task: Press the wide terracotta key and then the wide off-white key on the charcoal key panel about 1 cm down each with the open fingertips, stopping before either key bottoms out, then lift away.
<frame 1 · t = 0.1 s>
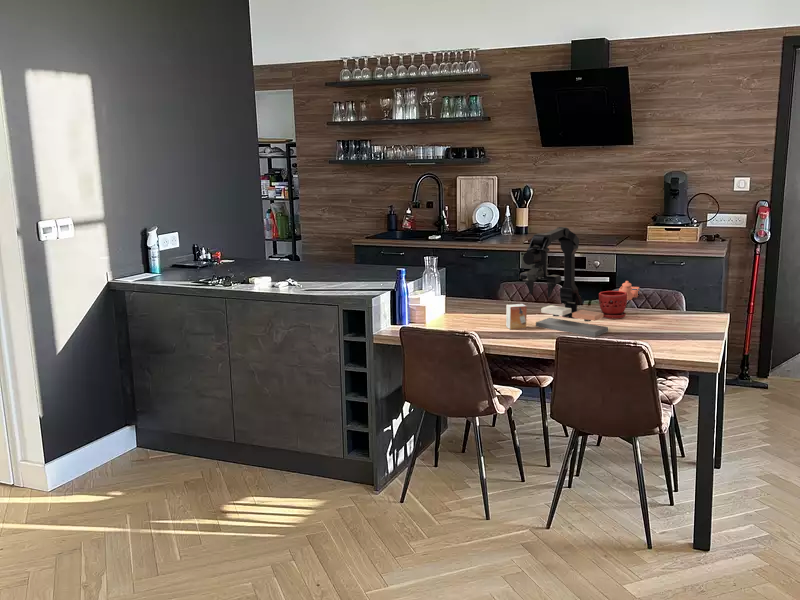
hand: (540, 296, 358), 15 cm above the table, fingers open, 9 cm apart
pottery: (627, 297, 425), on the table
white key: (556, 312, 360), point 7 cm above the table, slide at 0.0 cm
terracotta key: (587, 316, 350), point 7 cm above the table, slide at 0.0 cm
plant pot: (612, 317, 379), on the table
key panel: (571, 328, 357), on the table
small box: (516, 328, 361), on the table
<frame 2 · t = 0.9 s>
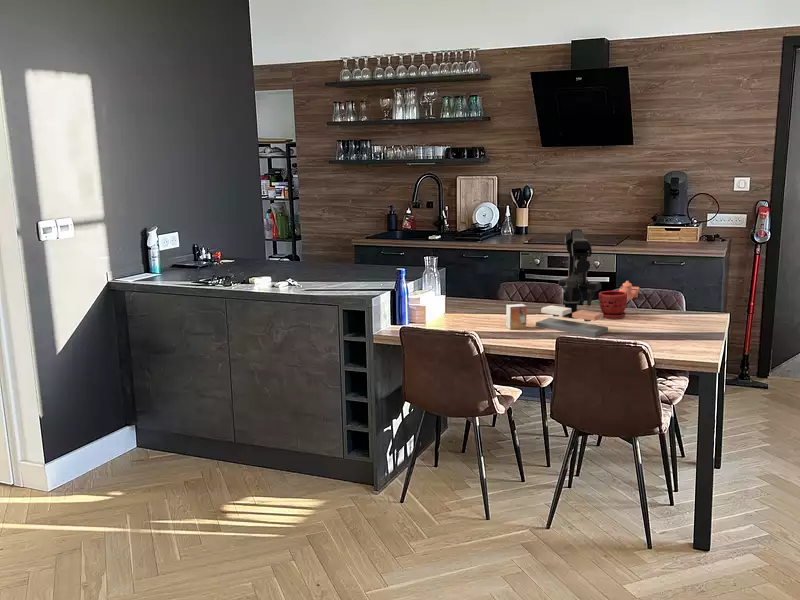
hand: (579, 303, 350), 13 cm above the table, fingers open, 9 cm apart
nothing on the table moved.
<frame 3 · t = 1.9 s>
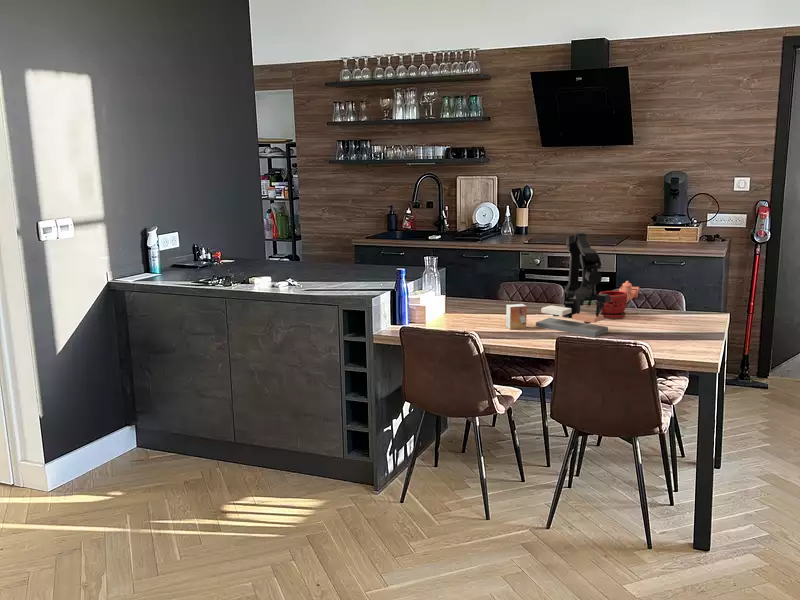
hand: (587, 315, 350), 8 cm above the table
terracotta key: (587, 318, 350), point 6 cm above the table, slide at 0.9 cm, touching gripper
everything else where it was.
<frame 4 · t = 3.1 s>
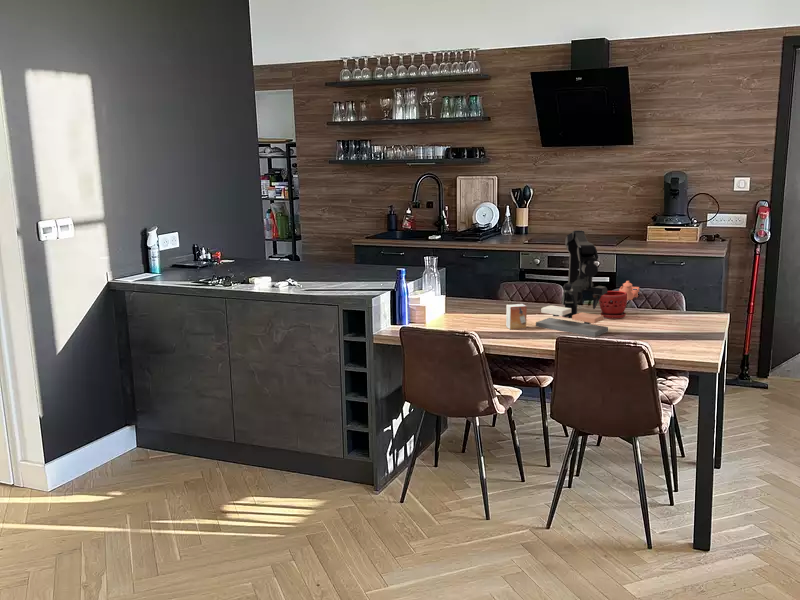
hand: (584, 307, 350), 11 cm above the table, fingers open, 9 cm apart
terracotta key: (587, 319, 350), point 6 cm above the table, slide at 1.1 cm
everything else where it was.
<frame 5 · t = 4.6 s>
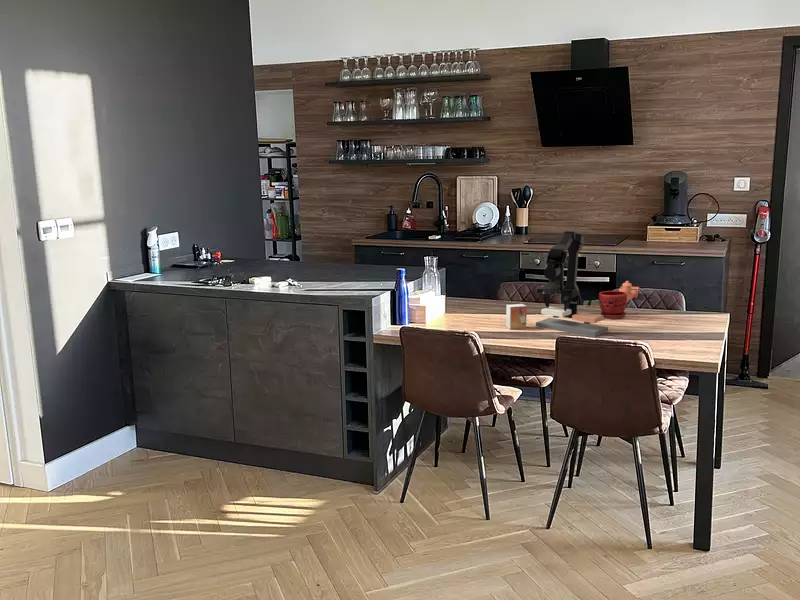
hand: (556, 309, 360), 8 cm above the table
white key: (556, 313, 361), point 6 cm above the table, slide at 0.6 cm, touching gripper
everything else where it was.
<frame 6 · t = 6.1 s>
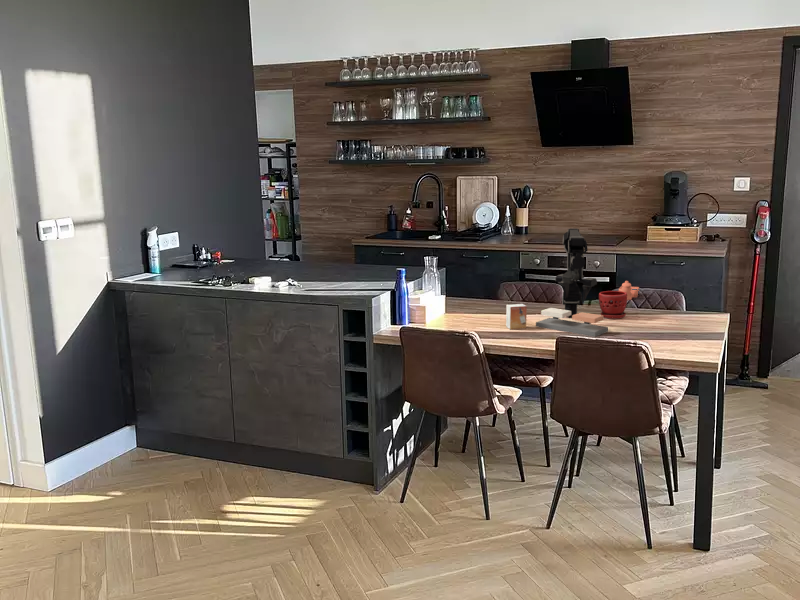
hand: (575, 298, 360), 13 cm above the table, fingers open, 9 cm apart
white key: (556, 314, 361), point 6 cm above the table, slide at 1.1 cm
everything else where it was.
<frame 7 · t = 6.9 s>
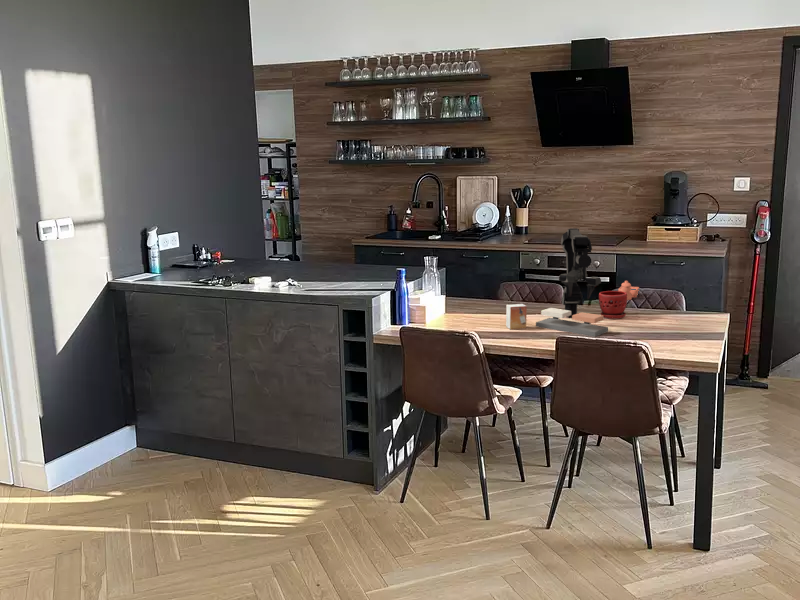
hand: (579, 297, 360), 13 cm above the table, fingers open, 9 cm apart
nothing on the table moved.
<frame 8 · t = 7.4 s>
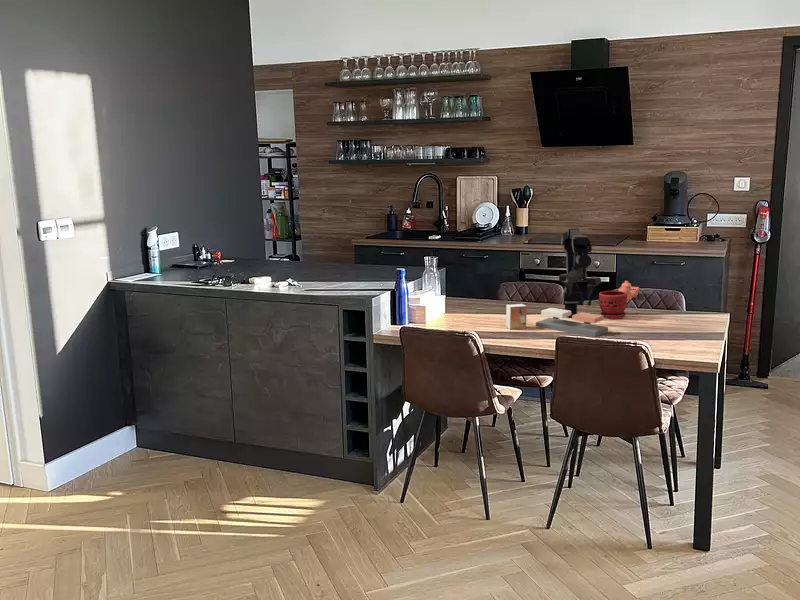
hand: (579, 297, 360), 13 cm above the table, fingers open, 9 cm apart
nothing on the table moved.
at the end: terracotta key slide at 1.1 cm; white key slide at 1.1 cm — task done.
